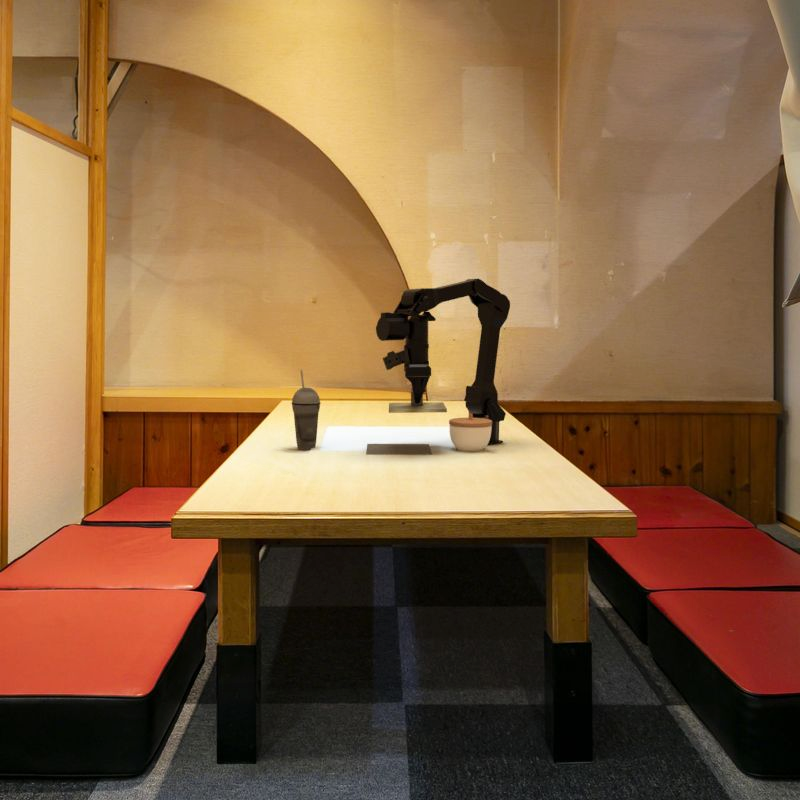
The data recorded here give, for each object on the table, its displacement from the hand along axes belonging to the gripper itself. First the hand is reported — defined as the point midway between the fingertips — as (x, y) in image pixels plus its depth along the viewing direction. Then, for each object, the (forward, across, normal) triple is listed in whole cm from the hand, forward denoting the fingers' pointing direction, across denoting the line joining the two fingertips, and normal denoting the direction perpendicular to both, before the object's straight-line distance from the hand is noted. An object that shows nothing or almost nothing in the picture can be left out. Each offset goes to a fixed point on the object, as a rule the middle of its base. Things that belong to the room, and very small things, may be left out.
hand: (417, 402), depth 190 cm
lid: (+2, 0, 0) cm, 2 cm away
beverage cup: (+12, -2, -28) cm, 31 cm away
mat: (+12, 0, -5) cm, 13 cm away
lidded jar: (+12, 0, +13) cm, 18 cm away
